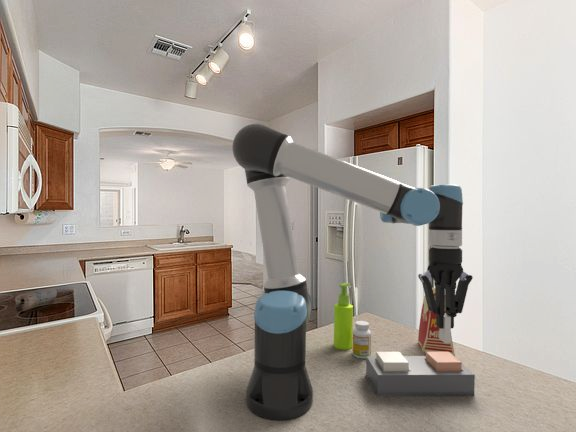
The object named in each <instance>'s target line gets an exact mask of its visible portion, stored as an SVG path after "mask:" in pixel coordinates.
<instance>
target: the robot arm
mask: <svg viewBox="0 0 576 432" xmlns="http://www.w3.org/2000/svg"><path fill="white" fill-rule="evenodd" d="M232 155H233V157H234V158H235V159H234V160H235V161H236V162H237V164H238V165H239V166H240V167H241V168H242V169H244V173H245V174H244V175H245V178H246V185H247V187H248V188H249V189H250V190H252V191H253V193H254V199H255V206H256V212H257V218H258V224H259V231H260V236H261V237H260V238H261V243H262V250H263V256H264V261H265V262H264V263H265V268H266V274H267V279H266V281H265V283H264V284H263V291H264V293H263V294H262V295H260V296H259V297H258V299H257V300H256V303H255V307H254V312H253V313H254V314H253V318H254V355H253V356H254V363H253V364H254V365H253V368H252V372H251V374H250V378H249V381H248V383H247V386H246V391H245V401H246V402H245V403H246V406H247V408H248V409H249V410H250V411H251V412H252V413H253V414H255V415H256V416H259V417H261V418H263V419H269V420H274V421H275V420H277V421H281V420H285V421H286V420H291V419H294V418H297V417H300V416H302V415H304V414H306V413H307V412H309V410H310V409H311V407H312V406H313V402H314V401H313V399H314V397H313V396H314V391H313V385H312V384H311V383H312V382H311V380H310V377H309V373H308V370H307V367H306V357H307V356H306V352H307V351H306V349H307V346H306V345H307V343H306V342H307V329H308V325H309V322H310V318H311V316H312V313H313V301H312V297H311V295H310V293H309V290H308V285H307V278H306V277H305V276H303V275H302V274H301V273H300V269H299V264H298V263H299V262H298V257H297V256H298V255H297V250H296V244H295V239H294V233H293V228H292V219H291V214H290V208H289V200H288V196H287V189H286V188H287V187H286V185H287V184H288V182H289V181H290V179H291V178H292V179H294V180H297V181H299V182H301V183H304V184H307V185H310V186H311V187H315V188H317V189H320V190H322V191H325V192H328V193H330V194H333V195H336V196H337V197H340V198H344V199H346V200H349V201H351V202H354V203H356V204H359V205H361V206H363V207H366V208H369V209H370V210H371V209H372V210H375V211H377V212H379V216H380V217H379V218H380V221H381V222H383V223H388V224H407V225H409V224H410V225H413V226H415V227H416V226H417V227H421V226H423V225H427V224H428V245H430V247H429V248H428V263H429V264H428V266H427V269H426V270H427V271H425V272H424V273H419V274H418V276H417V277H418V279H419V281H420V282H421V284H422V288H423V292H424V296H425V297H426V301H427V305H428V309H429V311H431V312H433V313H434V314H436V325H437V327H438V328H439V339H440V340H441V341H443V342H444V343H451V336H452V330H451V329H454V327H455V318H456V317H457V316H458V314H462V312H463V309H464V306H465V301H466V297H467V292H468V289H469V285H470V284H471V282H472V280H473V278H474V277H473V275H471V274H468V273H467V272H465V271H464V269H463V268H464V267H463V266H462V264H463V263H462V262H463V249H462V248H461V246H463V205H464V201H463V191H462V187H461V186H460V185H458V184H453V183H452V184H451V183H450V184H435V185H433V184H432V185H430V186H429V187H428V188H423V187H413V186H411V185H408V184H405V183H403V182H400V181H397V180H395V179H392V178H390V177H387V176H385V175H382V174H379V173H376V172H373V171H371V170H368V169H366V168H363V167H360V166H357V165H355V164H352V163H350V162H347V161H344V160H341V159H338V158H336V157H334V156H331V155H328V154H325V153H324V152H320V151H317V150H315V149H312V148H310V147H306V146H304V145H302V144H299V143H296V142H294V141H293V139H292V137H291V136H290V135H287V134H285V133H283V132H280V131H278V130H275V129H273V128H271V127H269V126H267V125H265V124H260V123H251V124H248V125H245V126H243V127H242V128H241V129H240V130H238V132H236V134H235V136H234V138H233V141H232ZM431 280H433V281H434V283H433V284H434V288H435V298H434V293H433V289H432V288H433V286H432V283H431ZM457 281H458V283H457ZM445 312H446V314H445Z"/></svg>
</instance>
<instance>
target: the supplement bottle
mask: <svg viewBox="0 0 576 432" xmlns="http://www.w3.org/2000/svg"><path fill="white" fill-rule="evenodd" d="M354 327H355V328H353V341H352V355H353V356H354V357H355V358H358V359H366V356H372V332H371V330H370V323H369V322H368V321H366V320H357V321H355V326H354Z"/></svg>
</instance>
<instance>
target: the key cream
mask: <svg viewBox="0 0 576 432" xmlns="http://www.w3.org/2000/svg"><path fill="white" fill-rule="evenodd" d="M375 352H376V355H375V356H376V362H377V364H378V365H379V367H380V368H381V370H382V371H383V372H409V362H408V361H407V360H406V359H405V358H404V357H403V356H404V355H403V354H402V353H401V352H400V351H375Z"/></svg>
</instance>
